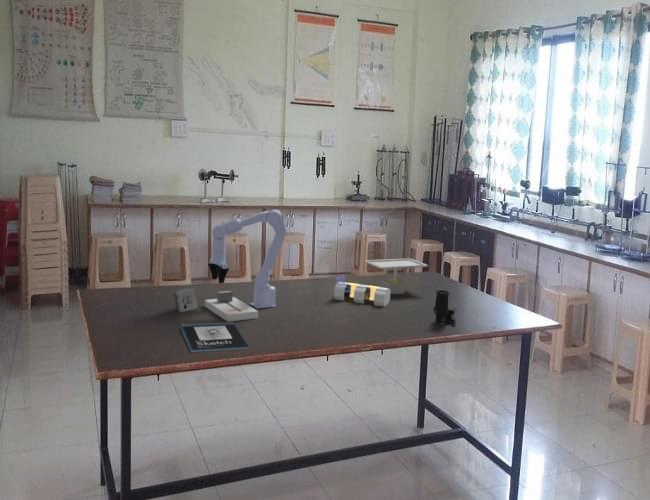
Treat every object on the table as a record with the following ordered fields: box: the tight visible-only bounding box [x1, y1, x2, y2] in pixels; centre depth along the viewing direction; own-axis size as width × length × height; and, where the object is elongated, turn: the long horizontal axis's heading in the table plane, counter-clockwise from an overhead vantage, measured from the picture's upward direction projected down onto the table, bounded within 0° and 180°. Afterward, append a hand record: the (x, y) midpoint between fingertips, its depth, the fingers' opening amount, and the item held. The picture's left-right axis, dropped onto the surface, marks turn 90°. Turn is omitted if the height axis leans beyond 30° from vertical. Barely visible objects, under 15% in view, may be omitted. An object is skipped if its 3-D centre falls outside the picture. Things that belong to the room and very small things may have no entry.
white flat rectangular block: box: [204, 296, 259, 323], centre depth 294 cm, size 14×25×3 cm, turn 32°
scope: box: [433, 289, 458, 324], centre depth 294 cm, size 8×14×10 cm
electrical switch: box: [173, 287, 198, 313], centre depth 293 cm, size 9×5×9 cm, turn 141°
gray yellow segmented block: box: [333, 273, 391, 308], centre depth 323 cm, size 25×10×13 cm, turn 69°
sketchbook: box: [180, 321, 251, 353], centre depth 259 cm, size 22×30×2 cm
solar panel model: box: [363, 257, 429, 295], centre depth 346 cm, size 28×17×15 cm, turn 115°
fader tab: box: [216, 290, 233, 302], centre depth 299 cm, size 6×3×4 cm, turn 122°
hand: (218, 281), depth 304 cm, fingers open, 7 cm apart
